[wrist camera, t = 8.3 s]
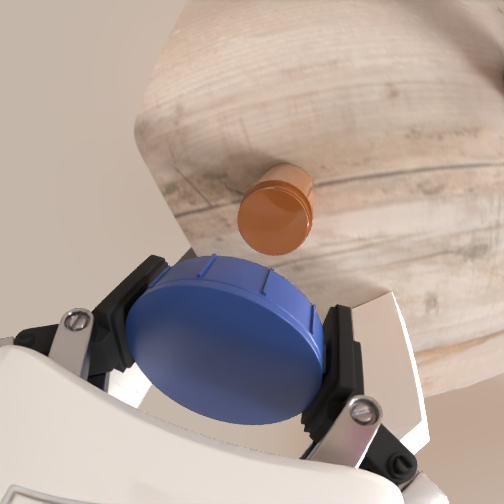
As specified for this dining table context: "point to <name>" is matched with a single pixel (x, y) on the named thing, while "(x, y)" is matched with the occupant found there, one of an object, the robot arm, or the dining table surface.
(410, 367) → the milk
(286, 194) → the jar
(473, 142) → the dining table surface
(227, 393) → the jar lid
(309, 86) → the dining table surface
